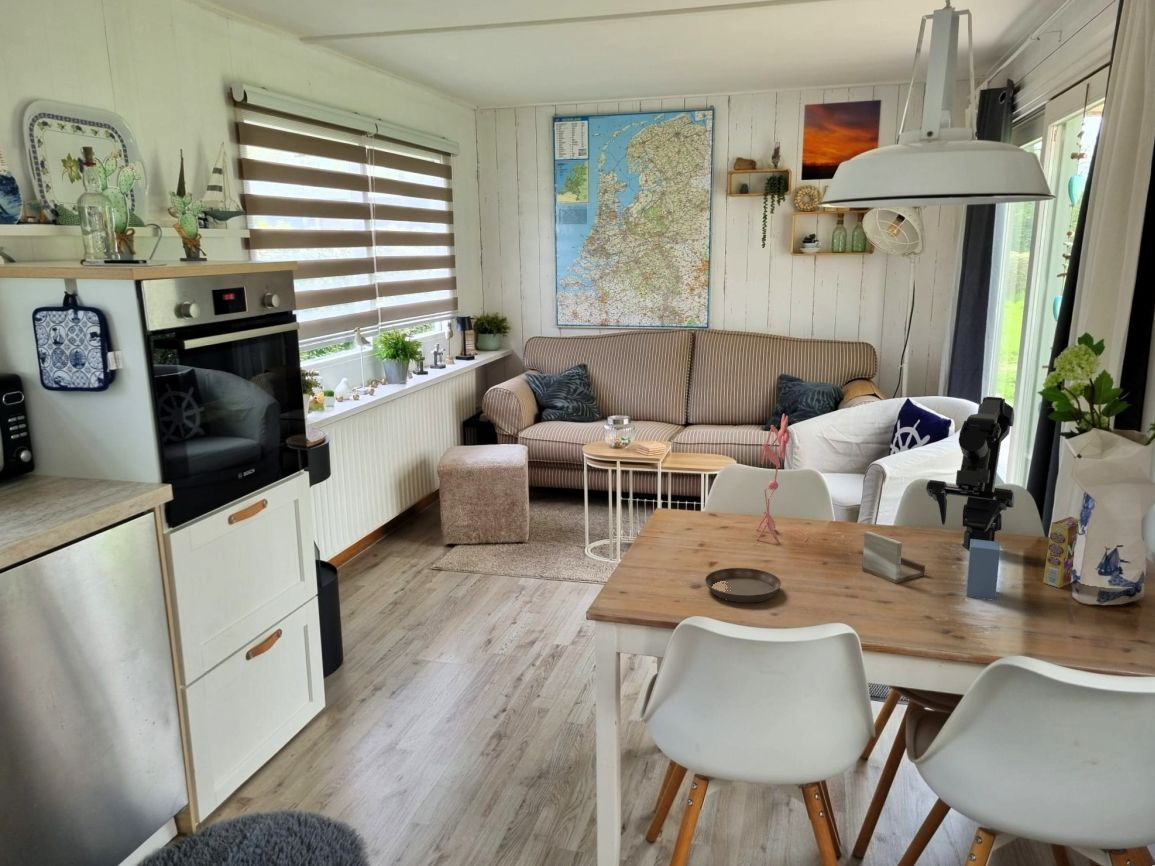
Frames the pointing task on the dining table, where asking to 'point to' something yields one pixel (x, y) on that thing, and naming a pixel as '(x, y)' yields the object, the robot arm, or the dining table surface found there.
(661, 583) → the dining table surface
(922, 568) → the wooden stand
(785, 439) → the figurine
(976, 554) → the blue-grey rectangular block
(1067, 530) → the candy box
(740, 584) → the plant saucer
